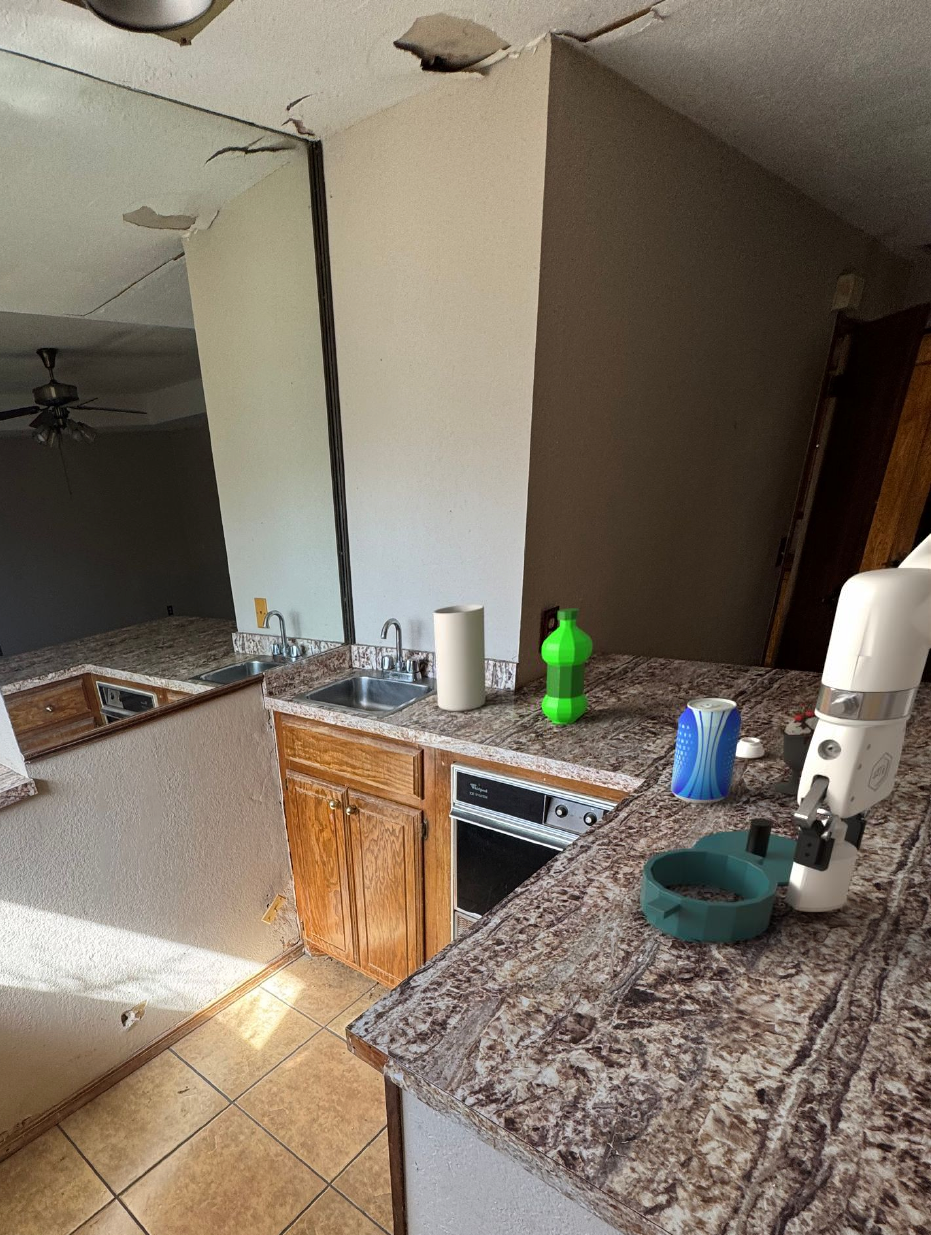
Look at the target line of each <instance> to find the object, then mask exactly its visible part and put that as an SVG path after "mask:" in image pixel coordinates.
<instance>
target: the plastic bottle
mask: <svg viewBox="0 0 931 1235" xmlns="http://www.w3.org/2000/svg"><path fill="white" fill-rule="evenodd" d="M579 616H580V609H579V608H578V607H576V608H572V607H571V608H570V607H569V608H563V609H559V610H557V620H558V621H559V627H558V628H556V629H555V630H554V631H553V632H552V633H551V634H550V635H549V636H548V637H547V638H546V639H545V640H543V643H542V646H541V656H542V660H544V662H546V664H547V666H546V667H547V668H546V694H545V696H544V697H543V700H542V702H541V709H542V712H543V714H544V715H545V716H546V717H547V718H548V719H549V720H551V722H552V723H553V724H558V725H568V724H569V725H570V724H573V723H575V722H576V721H577V720H578V719H579V718H581V717H582V716H583V714H585V712H586V711H587V709H588V704H589V702H588V699H587V696H586V694H585V675H586V674H585V672H586V661H587V660H588V659H590V657H591V656H592V652H593V644H594V643H593V640H592V638H591V637H590V636H589V635H588V634H587V633H586V632H585V631H583V630H582V629H581V628H579V627H578V626H577V623H576V622H577V619H579Z"/></svg>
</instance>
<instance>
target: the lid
mask: <svg viewBox="0 0 931 1235" xmlns="http://www.w3.org/2000/svg"><path fill="white" fill-rule="evenodd" d="M773 824H774V823H773V821H772V820H770V819H769V818H763V817H755V818H752V819H751V820H750V824H749V828H748V829H749V830H728V831H720V832H715V833H711V834H708V835H706V836H703V837H701V838H700V839H698V840H697V841H696V842H695V844H694V845H693V849H710V850H716V851H722V852H728V853H733V854H736V855H738V854H740V853H742V852H744V851H745V852H748V853H751V854H754V855H757V856H760V857H763V858H764V860H763V864H762V865H761V866H763V867H764V868H766V869H768V870H769V871H770V872H771V873H772V875H773V876H774V878H775V879H776V881H777V883H778V884H777V886H788V885H789V881H790V876H791V872H792V868H793V863H794V861H793V858H794V854H795V849H796V845H797V840H795V839H791V838H789V837H785V836H783V835H782V836H781V835H777V834H773V833H772V828H773ZM771 833H772V834H771Z"/></svg>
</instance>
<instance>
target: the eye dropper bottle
mask: <svg viewBox="0 0 931 1235" xmlns="http://www.w3.org/2000/svg"><path fill="white" fill-rule="evenodd" d="M827 819H828V818H826V819H822V820H821V821H822V823H823V824H824V826H825V824H826V821H827ZM847 827H848V825H847V824H846V823H845V822H843V821H841V818H840V817H839V819H838V822H837V824H836V827H835V829H834V831H833V834H832V836H831V838H834V839H835V842H834V846H833V850H832V854H831V858H830V862H829V866H828V869H827V870H825V871H818V870H815V869H812V868H809V867H806V866H803V865H800V864H797V863H795V862H794V863H793V868H792V872H791V876H790V881H789V885H787V890H786V895H785V902H786V903H787V904H788V905H789V906H790V907H792V908H793V909H794V910H796V911H799V912H809V913H823V912H829V911H835V910H837V909H840V908H842V907H843V906H844V905H845V903H846V900H847V895H848V893H849V889H850V885H851V881H852V878H853V873H854V870H855V866H856V862H857V858H858V851H859V850H858V851H857V849H856V847H855V846H853V845H852V844H851V843H849V842H847V841H845V840H844V838H845V834H846V830H847Z"/></svg>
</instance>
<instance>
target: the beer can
mask: <svg viewBox="0 0 931 1235" xmlns="http://www.w3.org/2000/svg"><path fill="white" fill-rule="evenodd" d="M737 705H738V704H737V702H736V701H734V700H731V699H727V698H719V697H705V698H697V699H692V700H690V701H689V702H687V707H686V708H685V709H684V711H683V712H682V713H681V714H680V716H679V718H678V725H677V733H676V741H675V742H676V743H675V750H674V758H673V767H672V775H671V785H670V791H671V792H672V794H673V795H674V796H675V797H676V798H677V799H679V800H681V801H684V802H687V803H693V804H713V803H718V802H721V801H723V800H724V799H725V798H726V797H728V796H729V795H730V792H731V786H732V780H733V775H734V768H735V762H736V757H737V756H736V750H737V744H738V742H739V738H740V732H741V725H742V716H741V714H740V712H739V711H738V708H737V707H738V706H737Z"/></svg>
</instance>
